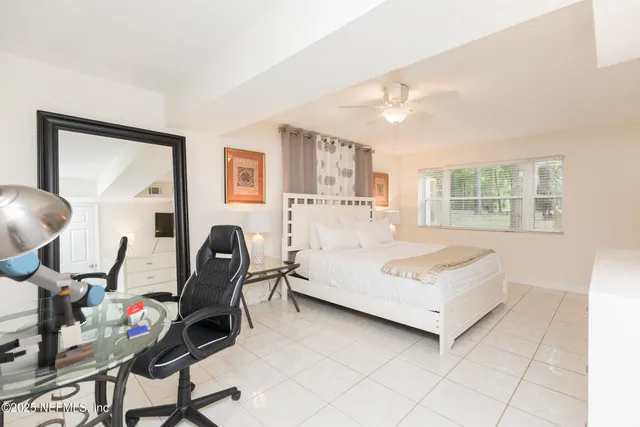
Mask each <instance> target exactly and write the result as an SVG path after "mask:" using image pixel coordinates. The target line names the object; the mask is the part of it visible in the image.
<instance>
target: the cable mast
mask: <svg viewBox="0 0 640 427" xmlns="http://www.w3.org/2000/svg"><path fill="white" fill-rule="evenodd" d="M71 279H72V278H71V272H70V271H68V272H67V271H66V272H63V273H62V272H61V273H60V274H56V282H57V288H58V287H61V291H59V295H62V298H63V304H64V311H65V318H66V324H67V327H69V326H73V325H74V319H73V313H72V306H71V299H70V293H72V289H69V286H68V285H71ZM55 355H56V356H55V363H54V368H55V370H56V369H57V368H60V367H63V366H66V367H69V366H71V364H72V365H74V364H78V363H80V361H81V362H83V361H82V360H84V359H86V358H90V357H93V358H95V355H94V348H93V343H92V342H90V343H89V342H88V343H87V344H78V345H74V346H71V347H68V348H65V350H64V351H61V352H57V353H55ZM90 359H91V358H90ZM84 361H85V360H84ZM77 362H78V363H77ZM63 368H64V367H63ZM60 369H61V368H60ZM57 370H58V369H57Z"/></svg>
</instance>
